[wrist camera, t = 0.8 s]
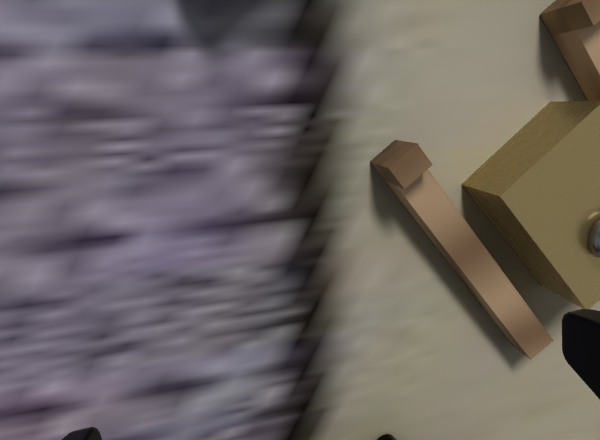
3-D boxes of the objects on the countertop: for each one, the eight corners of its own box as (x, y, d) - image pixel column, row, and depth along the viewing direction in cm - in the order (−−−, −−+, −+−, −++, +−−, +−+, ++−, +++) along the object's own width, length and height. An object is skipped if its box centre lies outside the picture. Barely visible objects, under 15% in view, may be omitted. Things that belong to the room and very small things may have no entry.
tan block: (618, 210, 24) (694, 230, 20) (537, 283, 25) (596, 316, 21) (546, 101, 22) (616, 100, 18) (458, 183, 22) (508, 199, 18)
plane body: (679, 206, 24) (728, 216, 22) (513, 345, 25) (543, 370, 22) (566, -9, 20) (611, -25, 18) (369, 161, 21) (388, 168, 18)
